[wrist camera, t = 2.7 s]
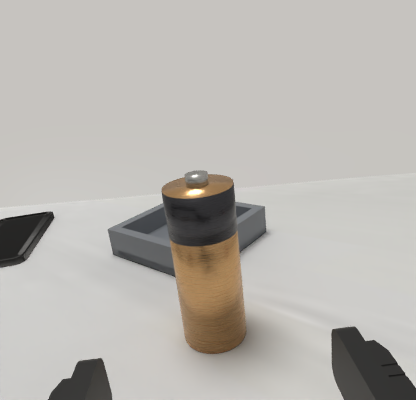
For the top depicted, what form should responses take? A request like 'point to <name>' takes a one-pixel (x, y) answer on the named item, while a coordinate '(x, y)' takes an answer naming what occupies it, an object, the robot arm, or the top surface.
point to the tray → (159, 238)
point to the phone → (21, 236)
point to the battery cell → (206, 259)
